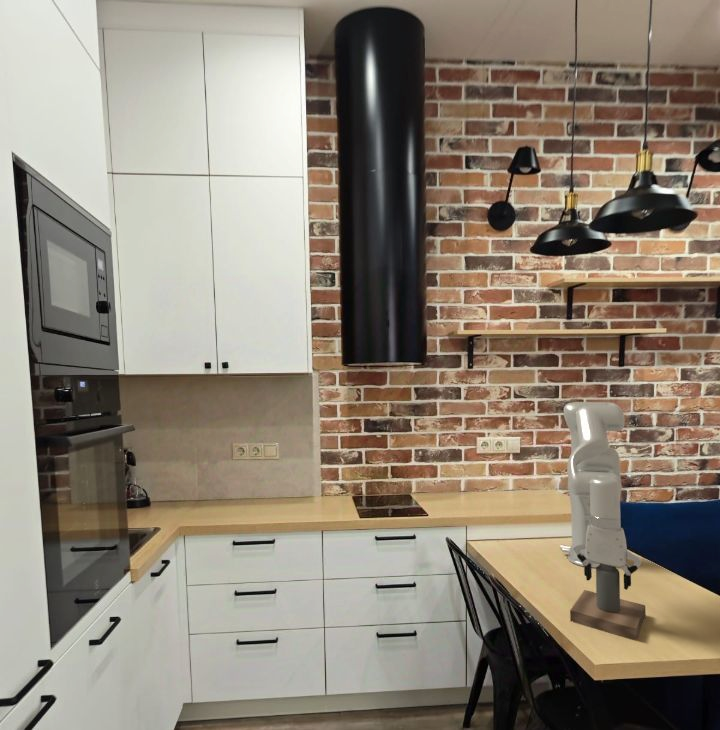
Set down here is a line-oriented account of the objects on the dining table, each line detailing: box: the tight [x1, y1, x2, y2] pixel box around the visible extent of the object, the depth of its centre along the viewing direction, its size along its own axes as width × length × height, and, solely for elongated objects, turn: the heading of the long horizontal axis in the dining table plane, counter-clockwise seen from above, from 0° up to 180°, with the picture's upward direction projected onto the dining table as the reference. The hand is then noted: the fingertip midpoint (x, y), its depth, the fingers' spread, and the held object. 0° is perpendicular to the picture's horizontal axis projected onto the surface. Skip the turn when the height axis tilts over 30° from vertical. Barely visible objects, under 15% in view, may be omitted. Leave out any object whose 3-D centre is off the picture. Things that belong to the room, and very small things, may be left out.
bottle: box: [595, 564, 621, 612], centre depth 131 cm, size 6×6×15 cm
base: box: [569, 589, 647, 642], centre depth 131 cm, size 16×16×3 cm
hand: (607, 583), depth 131 cm, fingers open, 9 cm apart
